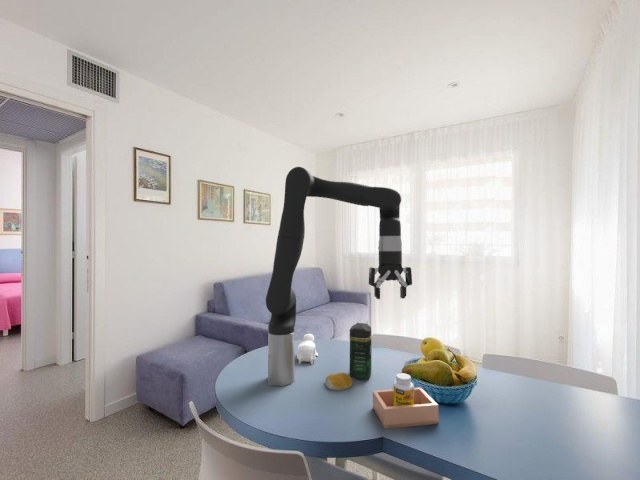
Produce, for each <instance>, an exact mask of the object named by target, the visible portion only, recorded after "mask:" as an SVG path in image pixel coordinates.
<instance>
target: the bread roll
mask: <svg viewBox="0 0 640 480" xmlns="http://www.w3.org/2000/svg"><path fill="white" fill-rule="evenodd" d="M324 384H325V386H326V387H327V388H328V389H330V390H332V391H342V390H345V389H346V390H347V389H349V388H351V387H352V385H353V381H352V377H350V374H348V373H345V372H337V373H331V374H329V375H327V376H326V378H325V381H324Z"/></svg>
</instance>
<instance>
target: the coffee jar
mask: <svg viewBox="0 0 640 480" xmlns="http://www.w3.org/2000/svg"><path fill="white" fill-rule="evenodd" d="M372 344H373V343H372V327H371V326H370V325H369V324H368V323H364V322H357V323H355V324H353V325H351V327H350V328H349V376H350V377H351V379H355V380H356V381H357V380H358V381H363V380H369V379H370V378H371V376H372V348H373V347H372V346H373V345H372Z"/></svg>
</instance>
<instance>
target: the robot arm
mask: <svg viewBox="0 0 640 480" xmlns="http://www.w3.org/2000/svg"><path fill="white" fill-rule="evenodd" d="M307 197H311V198H323V199H331V200H333V201H334V200H335V201H339V202H343V203H348V204H352V205H357V206H363V207H373V208H377V209H379V210H378V211H379V228H378V230H379V235H378V237H379V238H378V267H369V268H368V269H369V270H368V271H369V272H368V285H370V286H371V287H373V290H374V292H373V294H374V297H375V298H376V299H377V300H380V299H381V288H380V287H381V285H383V283H384V282H385V281H397V282H398V284H399V285H400V287H399V293H400V294H399V295H400V299H404V300H405V299H406V297H407V288H408V287H409V286H412V285H413V277H412V276H413V274H412V268H411V267H409V266H405V267H403V265H402V264H403V249H402V248H403V247H402V246H403V245H402V243H403V242H402V232H401V230H402V226H401V225H402V224H401V221H400V220H401V219H400V214H401V213H400V207H401V203H402V196H401V194H400V192H399V191H398V190H396V189H394V188H391V187H383V186H382V187H381V186H370V185H365V184H361V183H355V182H350V181H334V180H333V181H332V180H327V179H324V178H319V177H318V176H317V177H316V176H314V175H312V173H310V172H309V171H308V169H306V168H305V167H302V166H295V167H293V168H292V169H290V170H289V171H288V173H287V174H286V177H285V184H284V200H283V208H282V213H281V217H280V223H279V228H278V233H277V238H276V244H275V246H276V247H275V251H274V252H275V253H274V259H273V268H272V273H271V278H270V282H269V286H268V287H267V288H268V289H267V292H266V297H265V307H266V308H267V310H268V311H269V313H271V315H270V320H269V323H268V328H267V329H268V331H267V332H268V333H267V334H268V336H267V337H268V339H267V340H268V343H267V344H268V345H267V346H268V347H267V348H268V349H267V351H268V354H267V356H268V357H267V385H272V386H277V387H283V386H284V387H285V386H288V385H291V384H292V383H294V381H295V375H296V374H295V325H296V319H297V296H296V293H295V291H294V289H293V288H292V283H293V278H294V274H295V271H296V270H297V269H296V268H297V266H298V264H299V261H300V258H301V255H302V251H303V245H304V241H305V234H306V233H305V232H306V231H305V230H306V229H305V228H306V227H305V226H306V225H305V204H306V200H307ZM377 272H378V274H379V276H378V277H377V278H376V279H375V276H376V274H377ZM402 273H403V274H404V275H405V276H404V277H405V280H404V278H403V276H402V275H401V274H402ZM375 280H376V281H375Z"/></svg>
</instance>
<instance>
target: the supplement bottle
mask: <svg viewBox="0 0 640 480" xmlns="http://www.w3.org/2000/svg"><path fill="white" fill-rule="evenodd" d="M395 377H396V379H395V380H394V381H393V389H394V406H405V405H414V388H415V386H414V383H413V382H412V377H411V375H410V374H407V373H402V372H401V373H396V376H395Z"/></svg>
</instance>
